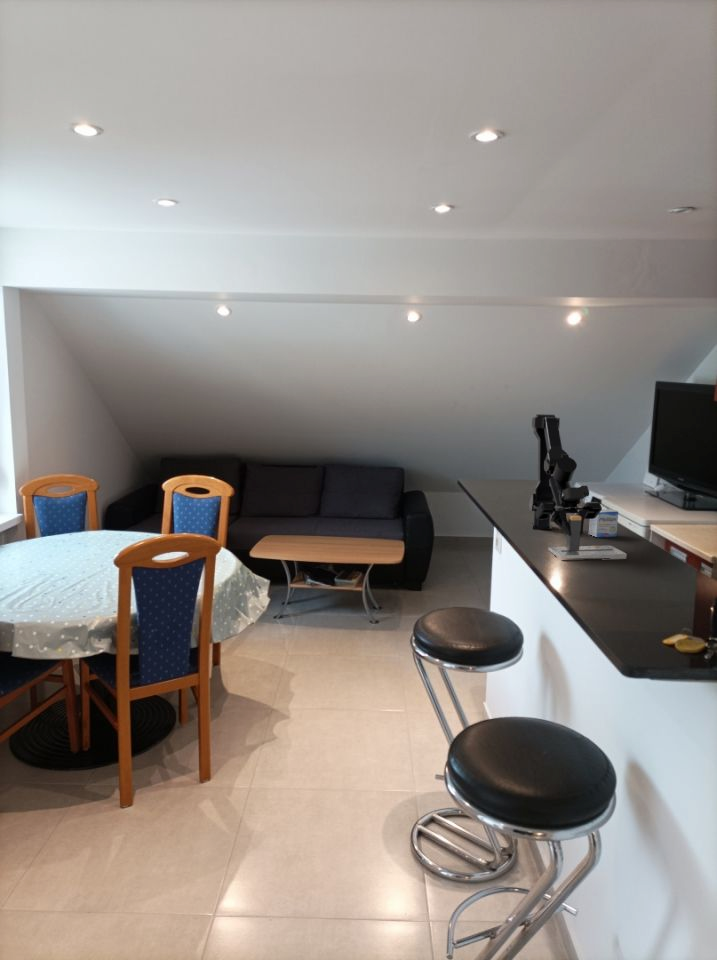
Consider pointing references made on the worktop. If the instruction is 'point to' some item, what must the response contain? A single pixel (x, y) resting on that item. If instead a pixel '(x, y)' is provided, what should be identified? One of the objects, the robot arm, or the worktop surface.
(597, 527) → the medicine box
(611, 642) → the worktop surface
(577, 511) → the robot arm
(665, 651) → the worktop surface
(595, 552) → the fader console
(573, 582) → the worktop surface
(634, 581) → the worktop surface
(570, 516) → the fader lever
